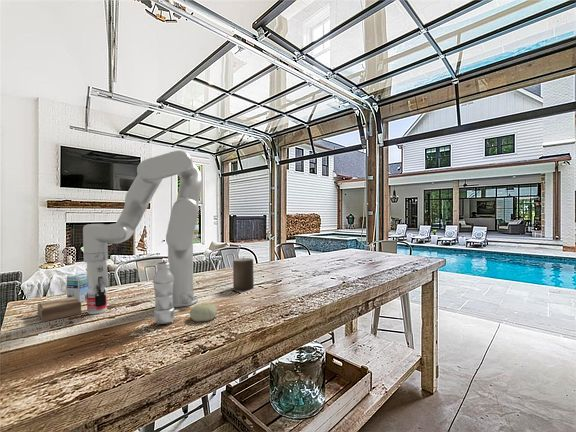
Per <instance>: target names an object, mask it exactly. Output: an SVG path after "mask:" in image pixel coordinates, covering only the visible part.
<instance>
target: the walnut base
mask: <svg viewBox="0 0 576 432" xmlns="http://www.w3.org/2000/svg"><path fill="white" fill-rule="evenodd" d="M36 304H37V316H38V317H39V319H40V320H41V322H42V323H45V322H49V321H53V320H57V319H62V318H66V317H71V316H74V315H80V314H82V302H80V301H79V300H77V299H76V298H75V297H68V298H67V297H64V298H57V299H52V300H46V301H41V302H39V303H36Z"/></svg>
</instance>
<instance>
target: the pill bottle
mask: <svg viewBox="0 0 576 432" xmlns="http://www.w3.org/2000/svg"><path fill="white" fill-rule="evenodd" d="M89 287H90V289H88V290H87V300H86V310H87V311H86V313H87V314H89V315H97V314H102V313H104V312H107V309H108V305H107V304H108V302H107V301H108V294H107V293H108V292H107V287H105V292H106V305H105V306H100V307H96V306H95V296H96V292H95V289H92V288H91V286H90V283H89ZM99 287H100V286H99ZM98 291H99V290H98Z"/></svg>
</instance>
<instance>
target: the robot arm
mask: <svg viewBox="0 0 576 432" xmlns="http://www.w3.org/2000/svg"><path fill="white" fill-rule="evenodd" d="M136 172H137V175H136V176H135V178H134V180H133V182H132V184H131V185H130V188H129V189H128V191H127V192H126V193H125V198H124V205H123V209H122V211H121V214H120V215H119V217H118V219H117V220H116V222H115V223H110V224H104V223H91V224H89V223H88V224H85V225H84V226H83V228H82V242H83V243H82V244H83V245H82V246H83V248H82V249H83V263H86V272H87V285H88V286H89V283H90V286H91V288H92V289H95V292H96V296H95V306H96V307H100V306H105V305H106V292H105V288H108V287H109V285H110V283H109V272H108V264H107V261H109V254H108V253H109V250H108V249H109V248H108V246H109V245H108V244H121V243H124V242H125V241H128V240H130V238H132V236H133V235H134V233H135V231H136V230H137V227H138V226H139V224H140V222H141V220H142V218H143V216H144V214H145V212H146V211H147V208H148V206H149V204H150V202H151V200H152V199H153V197H154V195H155V194H156V191H157V189H159V186H160V185H161V183H162V181H163V179H166V178H170V177H172V176H173V177H174V176H176V175H177V176H178V177H179V181H180V183H179V187H178V192H177V198H176V201H175V202H174V203H173V205H172V207H171V212H170V217H169V221H168V226H167V230H166V235H165V242H166V244H167V262H169V266H170V268H169V271H170V272H171V273H172V274H173V277H174V282H173V294H172V295H173V296H172V298H173V307H174V308H183V307H189V306H192V305H195V304H196V303H198V302H199V298H198V297H197V296H196V295H195V293H194V291H195V289H194V287H195V286H194V252H193V251H194V246H193V245H194V236H195V235H194V234H195V231H196V225H197V221H198V216H199V203H200V198H201V192H202V185H203V178H202V173H201V172H200V169H199V168H198V167H197V165H196V164H195V163H194V162H193V159H192V157H191V155H190V153H188V152H186V151H184V150H173V151H170V152H168V153H163V154H160V155H156V156H153V157H150V158H146V159H144V160H142V161H141V162H139V164H138V165H137V168H136ZM99 286H100V287H99ZM89 289H90V287H89ZM98 290H99V291H98Z"/></svg>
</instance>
